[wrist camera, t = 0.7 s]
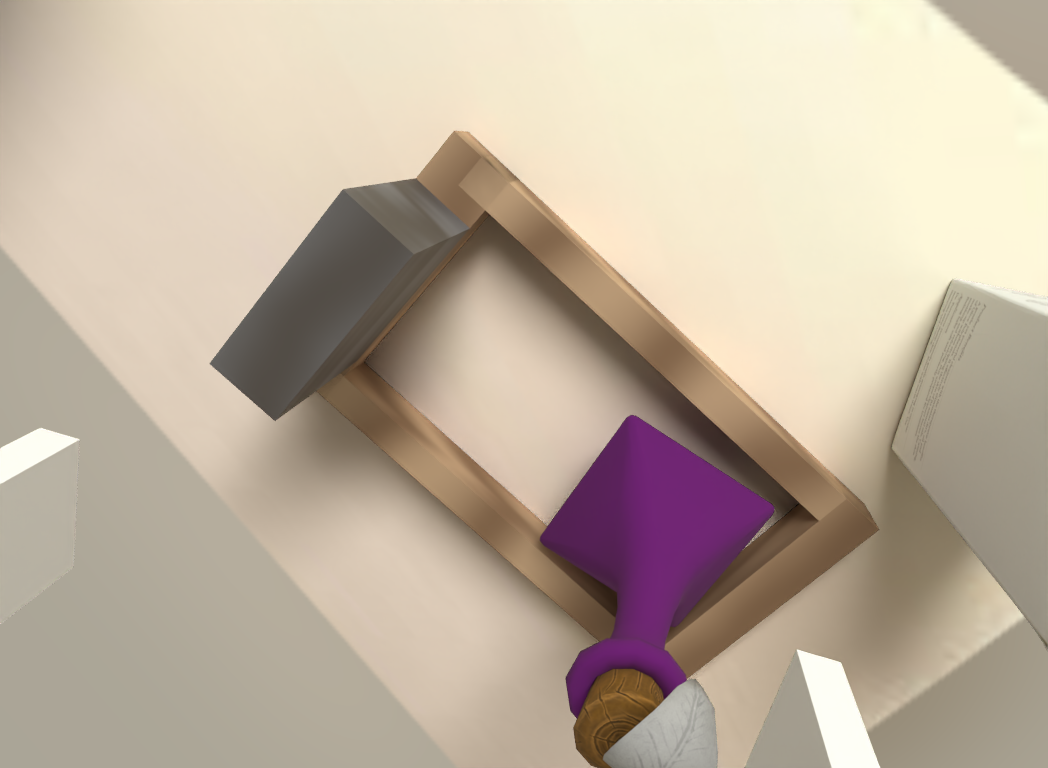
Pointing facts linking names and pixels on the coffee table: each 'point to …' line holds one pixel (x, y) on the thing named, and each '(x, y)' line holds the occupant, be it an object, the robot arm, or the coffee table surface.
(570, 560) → the perfume bottle
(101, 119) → the coffee table surface
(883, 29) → the coffee table surface
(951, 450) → the skincare box
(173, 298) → the coffee table surface
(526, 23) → the coffee table surface
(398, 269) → the strip frame
